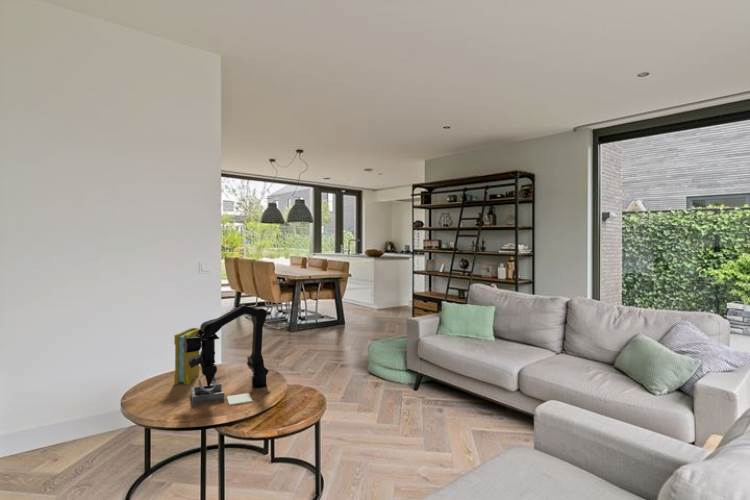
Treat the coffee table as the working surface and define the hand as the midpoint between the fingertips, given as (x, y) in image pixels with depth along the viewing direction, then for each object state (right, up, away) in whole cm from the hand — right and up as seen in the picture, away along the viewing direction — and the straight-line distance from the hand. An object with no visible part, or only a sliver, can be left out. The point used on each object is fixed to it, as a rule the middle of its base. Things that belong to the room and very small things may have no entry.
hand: (207, 382), depth 191 cm
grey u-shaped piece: (0, -7, 0) cm, 7 cm away
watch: (0, -7, 0) cm, 7 cm away
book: (-20, -6, +25) cm, 33 cm away
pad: (+15, -7, -2) cm, 17 cm away
